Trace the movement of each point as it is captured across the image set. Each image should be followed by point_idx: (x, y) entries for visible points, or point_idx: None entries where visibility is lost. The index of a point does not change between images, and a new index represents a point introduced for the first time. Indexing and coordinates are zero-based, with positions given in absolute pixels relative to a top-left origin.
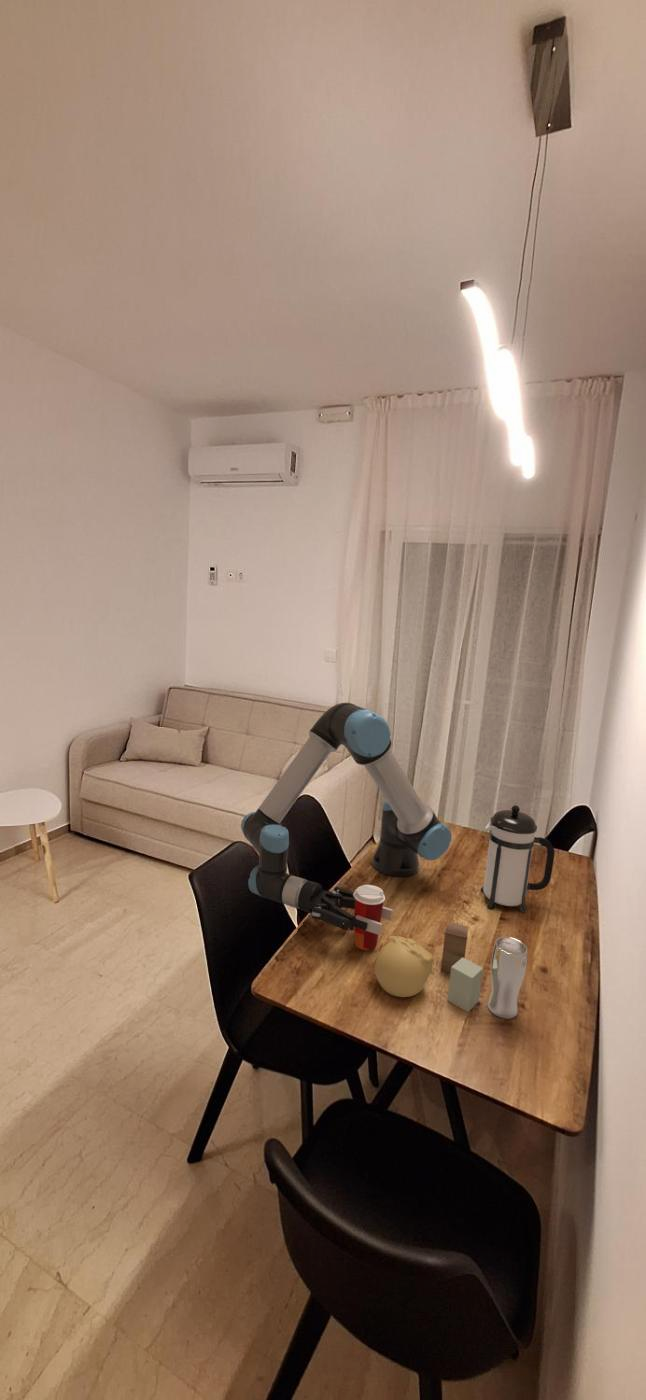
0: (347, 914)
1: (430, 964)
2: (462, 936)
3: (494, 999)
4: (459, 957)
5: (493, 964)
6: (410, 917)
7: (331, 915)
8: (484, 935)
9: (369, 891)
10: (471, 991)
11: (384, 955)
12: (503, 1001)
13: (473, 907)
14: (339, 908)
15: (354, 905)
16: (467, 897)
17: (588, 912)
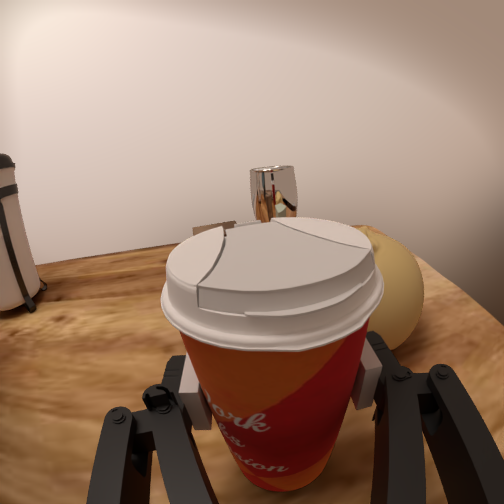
0: (404, 405)
1: None
2: (235, 222)
3: None
4: None
5: (291, 197)
6: (62, 401)
7: (491, 440)
8: (105, 304)
9: (271, 242)
10: None
11: (414, 267)
12: None
13: (28, 324)
14: (397, 479)
15: (208, 483)
16: (2, 333)
17: (49, 263)
